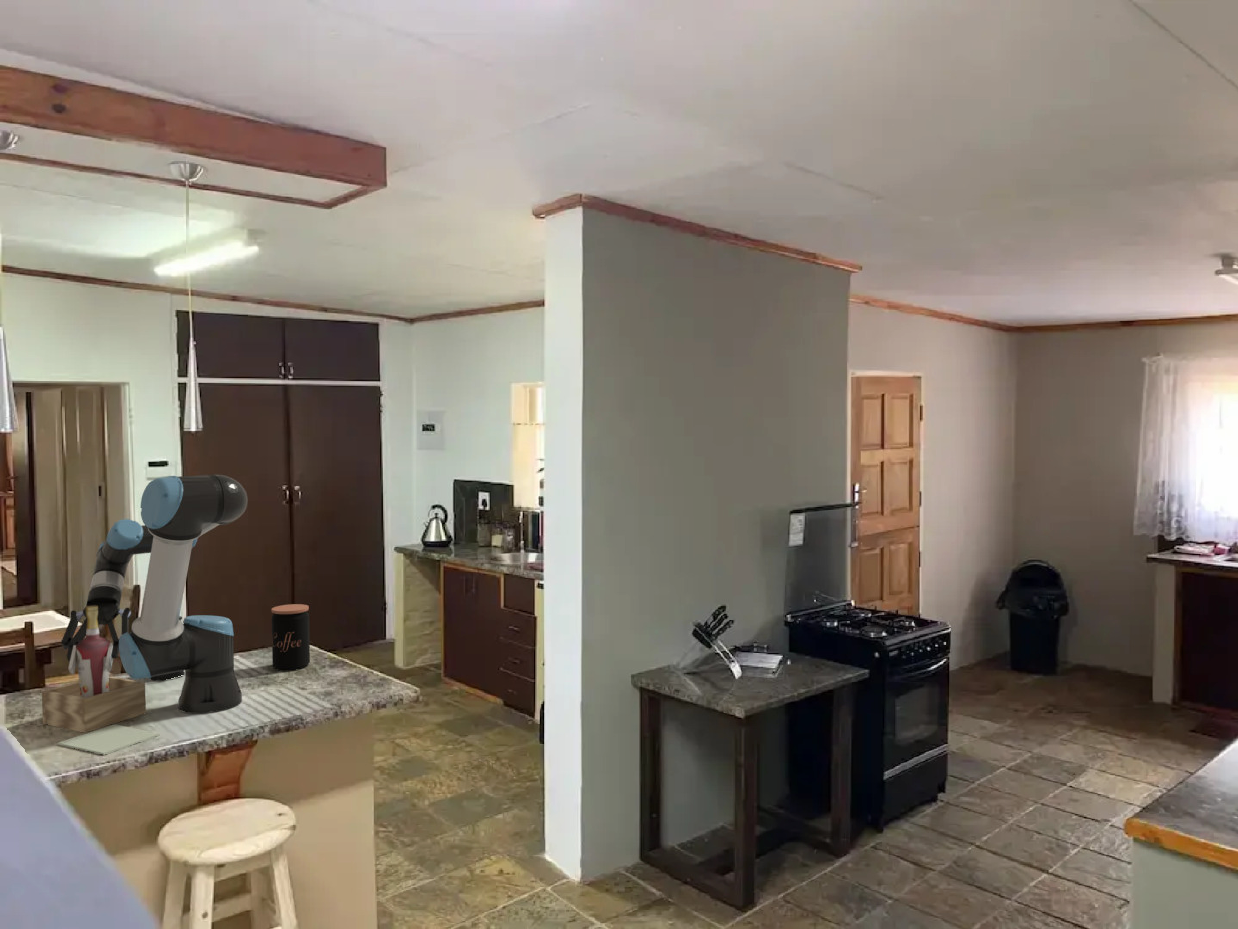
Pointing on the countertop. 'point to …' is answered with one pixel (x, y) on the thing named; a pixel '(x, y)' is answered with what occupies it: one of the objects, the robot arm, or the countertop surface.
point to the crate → (93, 705)
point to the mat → (108, 739)
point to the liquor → (92, 658)
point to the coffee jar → (290, 637)
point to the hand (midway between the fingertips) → (89, 670)
